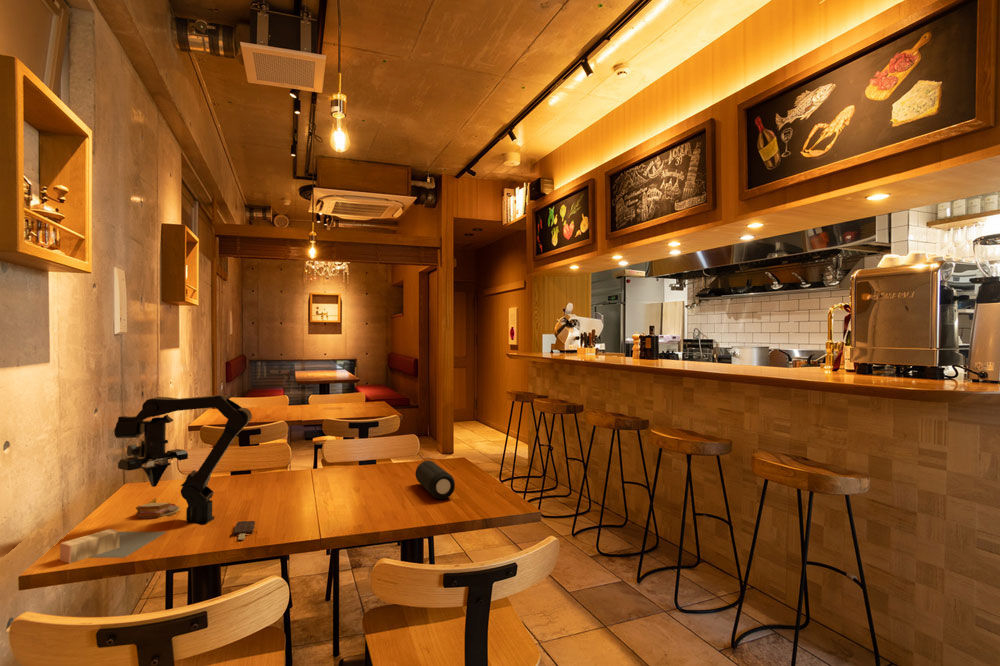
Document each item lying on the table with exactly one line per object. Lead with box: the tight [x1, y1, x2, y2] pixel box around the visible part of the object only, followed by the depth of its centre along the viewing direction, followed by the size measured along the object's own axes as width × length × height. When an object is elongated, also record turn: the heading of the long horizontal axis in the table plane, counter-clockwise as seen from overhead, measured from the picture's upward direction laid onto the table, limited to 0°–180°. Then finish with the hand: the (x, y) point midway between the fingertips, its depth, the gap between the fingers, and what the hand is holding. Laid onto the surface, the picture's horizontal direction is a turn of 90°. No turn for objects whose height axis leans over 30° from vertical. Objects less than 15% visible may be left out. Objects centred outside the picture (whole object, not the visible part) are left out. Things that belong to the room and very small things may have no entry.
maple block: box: [59, 528, 121, 564], centre depth 145 cm, size 4×4×12 cm
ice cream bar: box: [232, 520, 256, 541], centre depth 164 cm, size 5×2×15 cm
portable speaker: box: [415, 460, 456, 500], centre depth 210 cm, size 26×10×10 cm, turn 24°
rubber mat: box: [87, 531, 167, 559], centre depth 153 cm, size 15×19×1 cm
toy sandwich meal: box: [135, 498, 181, 519], centre depth 180 cm, size 12×14×5 cm
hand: (153, 486), depth 170 cm, fingers closed
